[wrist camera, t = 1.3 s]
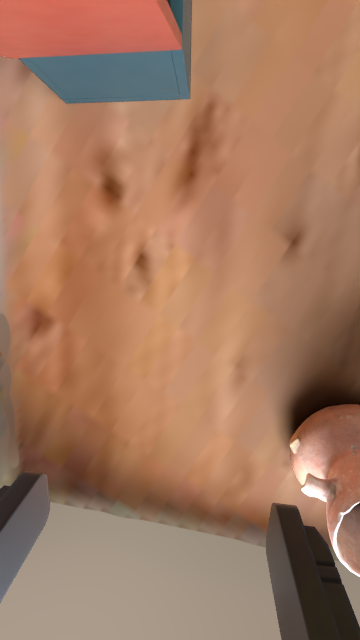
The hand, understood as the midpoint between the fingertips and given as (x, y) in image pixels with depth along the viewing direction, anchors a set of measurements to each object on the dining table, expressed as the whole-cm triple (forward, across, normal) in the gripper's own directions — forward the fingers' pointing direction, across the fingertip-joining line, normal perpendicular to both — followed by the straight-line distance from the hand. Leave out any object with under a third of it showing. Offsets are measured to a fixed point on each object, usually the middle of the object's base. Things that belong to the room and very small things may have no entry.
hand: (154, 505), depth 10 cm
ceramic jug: (+29, -22, +17) cm, 40 cm away
